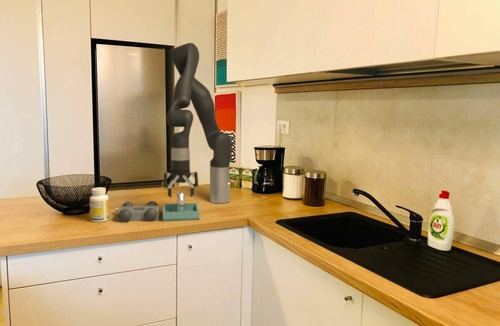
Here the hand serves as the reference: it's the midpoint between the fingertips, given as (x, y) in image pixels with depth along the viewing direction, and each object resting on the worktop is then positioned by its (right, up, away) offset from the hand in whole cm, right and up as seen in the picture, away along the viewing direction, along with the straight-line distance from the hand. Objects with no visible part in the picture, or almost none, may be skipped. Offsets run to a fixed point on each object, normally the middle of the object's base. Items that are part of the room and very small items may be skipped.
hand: (180, 196), depth 172 cm
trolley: (-18, -8, -2) cm, 20 cm away
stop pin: (0, -7, +1) cm, 7 cm away
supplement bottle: (-31, -9, -7) cm, 33 cm away
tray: (0, -8, +1) cm, 8 cm away
